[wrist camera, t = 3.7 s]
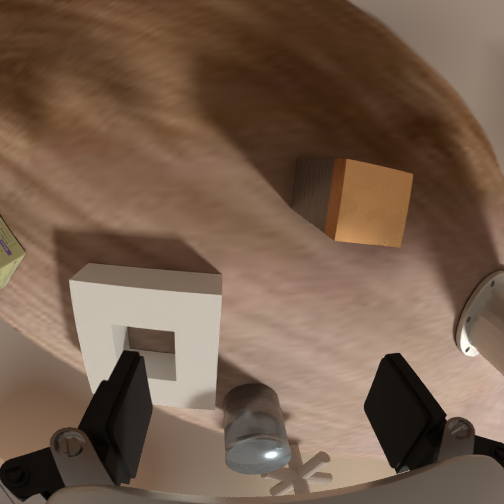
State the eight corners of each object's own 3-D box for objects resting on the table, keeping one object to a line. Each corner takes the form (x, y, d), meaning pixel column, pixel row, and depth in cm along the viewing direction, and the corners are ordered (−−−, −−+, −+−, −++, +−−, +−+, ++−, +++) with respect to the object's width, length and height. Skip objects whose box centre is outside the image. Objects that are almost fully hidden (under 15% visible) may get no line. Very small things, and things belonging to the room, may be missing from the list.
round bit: (282, 383, 29) (297, 441, 21) (273, 419, 31) (284, 472, 23) (224, 382, 28) (227, 442, 21) (222, 418, 30) (224, 474, 22)
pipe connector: (240, 458, 33) (246, 518, 23) (282, 418, 31) (298, 487, 21) (298, 469, 35) (311, 521, 26) (342, 432, 33) (365, 489, 23)
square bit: (343, 166, 23) (413, 174, 13) (336, 213, 24) (400, 247, 15) (296, 158, 22) (346, 158, 13) (290, 208, 24) (334, 240, 14)
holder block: (222, 274, 25) (221, 295, 21) (215, 382, 28) (214, 409, 24) (88, 262, 23) (68, 279, 19) (104, 369, 27) (92, 393, 23)
